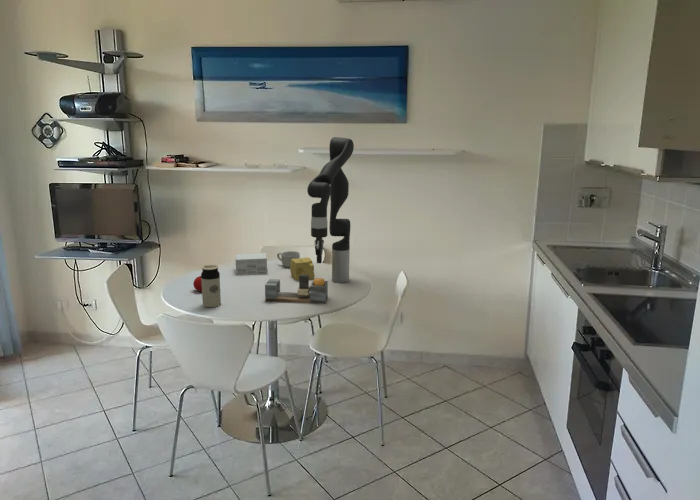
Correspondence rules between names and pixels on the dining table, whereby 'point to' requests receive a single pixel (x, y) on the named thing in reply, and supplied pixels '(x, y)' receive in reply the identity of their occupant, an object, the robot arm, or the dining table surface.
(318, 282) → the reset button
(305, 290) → the carriage
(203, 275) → the travel mug
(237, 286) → the dining table surface
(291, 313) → the dining table surface
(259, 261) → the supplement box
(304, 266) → the cheese
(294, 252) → the teacup
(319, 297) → the stand
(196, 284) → the tomato
